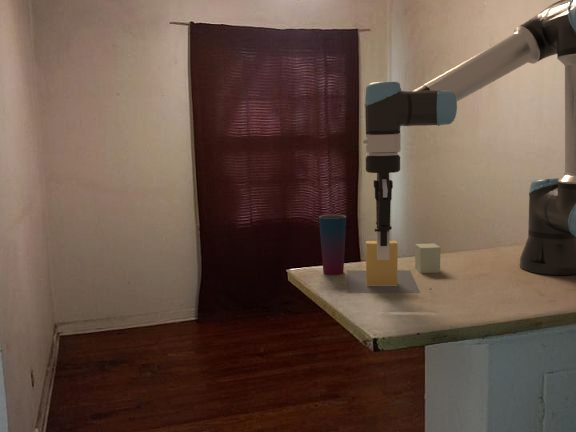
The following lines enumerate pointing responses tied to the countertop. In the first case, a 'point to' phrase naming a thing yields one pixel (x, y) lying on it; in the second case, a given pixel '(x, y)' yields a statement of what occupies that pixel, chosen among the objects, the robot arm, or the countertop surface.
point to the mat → (358, 285)
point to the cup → (333, 243)
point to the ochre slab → (381, 266)
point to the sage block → (427, 258)
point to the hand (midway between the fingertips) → (383, 259)
